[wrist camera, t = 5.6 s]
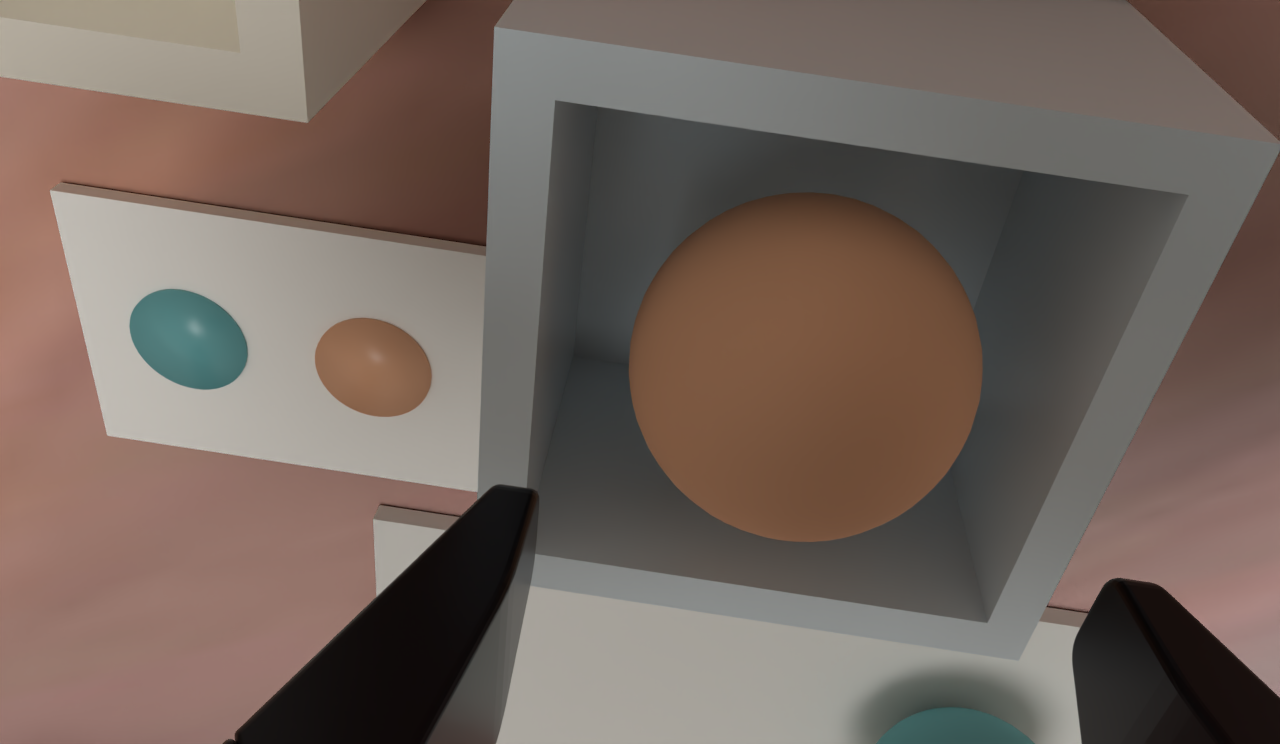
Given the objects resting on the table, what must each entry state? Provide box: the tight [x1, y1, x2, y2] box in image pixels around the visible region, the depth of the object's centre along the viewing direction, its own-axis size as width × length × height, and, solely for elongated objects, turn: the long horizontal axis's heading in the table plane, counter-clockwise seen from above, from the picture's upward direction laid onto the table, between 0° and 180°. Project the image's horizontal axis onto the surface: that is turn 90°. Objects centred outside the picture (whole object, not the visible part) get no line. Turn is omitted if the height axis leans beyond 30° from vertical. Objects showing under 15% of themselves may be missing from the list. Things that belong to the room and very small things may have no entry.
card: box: [50, 182, 486, 492], centre depth 18 cm, size 5×7×1 cm
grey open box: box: [477, 0, 1280, 661], centre depth 13 cm, size 7×7×5 cm
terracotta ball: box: [629, 192, 983, 542], centre depth 12 cm, size 4×4×4 cm
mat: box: [373, 505, 1088, 744], centre depth 22 cm, size 7×15×1 cm, turn 83°
